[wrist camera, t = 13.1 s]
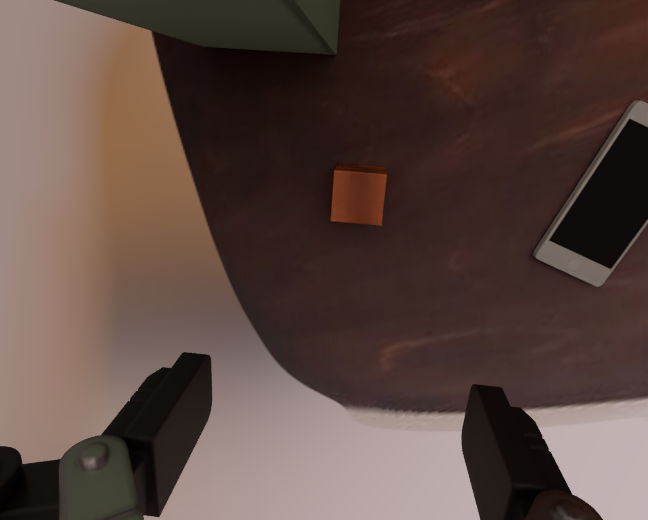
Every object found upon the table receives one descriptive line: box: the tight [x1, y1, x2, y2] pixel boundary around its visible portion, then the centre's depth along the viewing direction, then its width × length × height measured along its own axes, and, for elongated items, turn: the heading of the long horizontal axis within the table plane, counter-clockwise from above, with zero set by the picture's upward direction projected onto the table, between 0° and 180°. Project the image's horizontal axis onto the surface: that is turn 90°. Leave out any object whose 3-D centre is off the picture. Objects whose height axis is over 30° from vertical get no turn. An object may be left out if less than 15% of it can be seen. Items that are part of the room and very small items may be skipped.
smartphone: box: [533, 101, 648, 287], centre depth 41 cm, size 7×15×1 cm, turn 156°
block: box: [331, 163, 387, 226], centre depth 41 cm, size 4×4×4 cm
